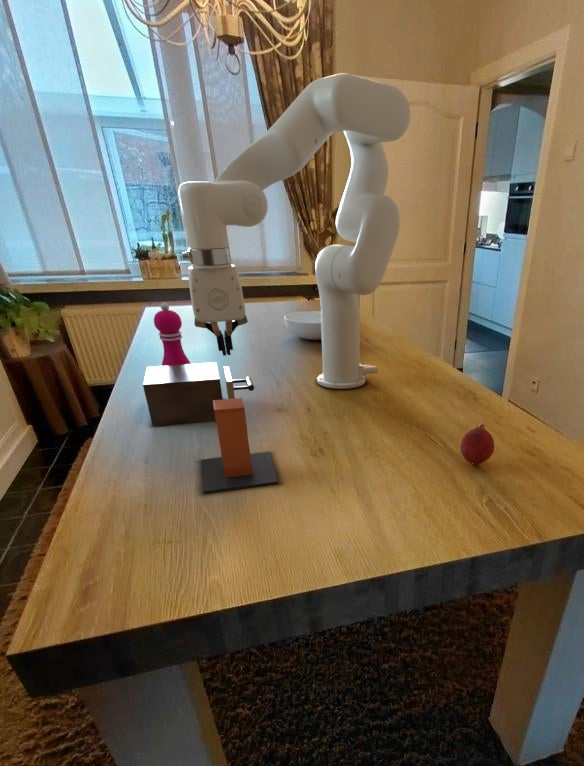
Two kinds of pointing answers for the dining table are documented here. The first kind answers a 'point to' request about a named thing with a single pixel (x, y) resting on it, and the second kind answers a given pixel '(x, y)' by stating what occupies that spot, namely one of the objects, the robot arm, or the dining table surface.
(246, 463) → the tall orange-brown block
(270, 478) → the mat
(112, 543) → the dining table surface
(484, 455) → the onion
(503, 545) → the dining table surface
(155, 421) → the cabinet
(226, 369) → the drawer
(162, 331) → the pepper mill
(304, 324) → the serving bowl
